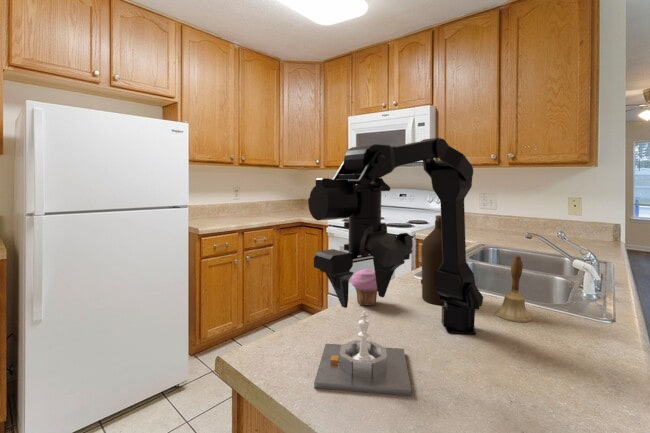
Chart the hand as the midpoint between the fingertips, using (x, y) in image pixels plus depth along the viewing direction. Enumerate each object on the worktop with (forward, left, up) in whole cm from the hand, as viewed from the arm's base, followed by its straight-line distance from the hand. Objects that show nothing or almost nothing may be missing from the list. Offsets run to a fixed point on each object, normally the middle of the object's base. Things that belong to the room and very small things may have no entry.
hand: (363, 301), depth 62 cm
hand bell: (-38, -31, -13) cm, 51 cm away
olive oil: (-21, -41, -13) cm, 48 cm away
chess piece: (0, 0, -12) cm, 12 cm away
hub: (0, 0, -13) cm, 13 cm away
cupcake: (0, -35, -13) cm, 37 cm away
